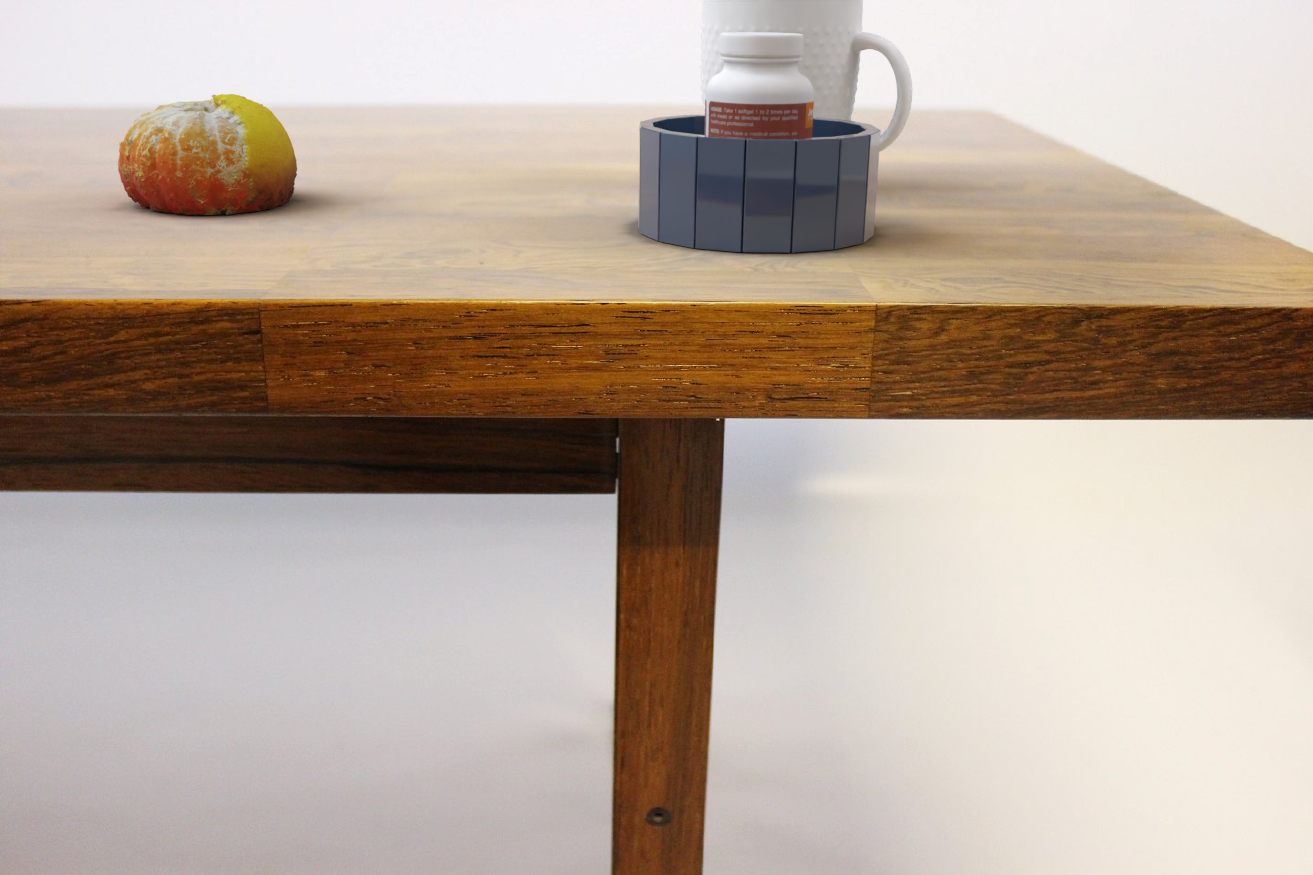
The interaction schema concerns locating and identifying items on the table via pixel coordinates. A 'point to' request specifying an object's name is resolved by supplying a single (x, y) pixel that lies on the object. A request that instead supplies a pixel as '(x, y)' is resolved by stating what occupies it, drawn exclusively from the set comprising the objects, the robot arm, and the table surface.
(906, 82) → the mug
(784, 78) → the pill bottle
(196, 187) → the fruit
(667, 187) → the pot
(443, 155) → the table surface
